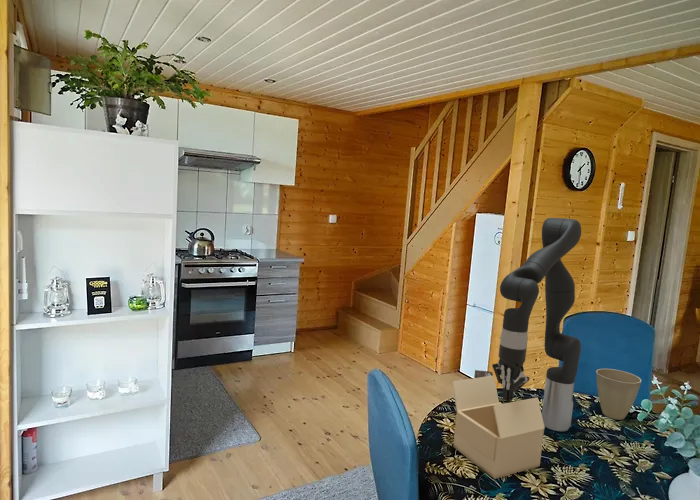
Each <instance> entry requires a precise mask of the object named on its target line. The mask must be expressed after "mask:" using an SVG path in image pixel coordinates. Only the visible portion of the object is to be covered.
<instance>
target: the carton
mask: <svg viewBox="0 0 700 500" xmlns="http://www.w3.org/2000/svg"><path fill="white" fill-rule="evenodd" d="M499 404H502V403H501V402H499V403H496V404H490V405H485V406H479V407H474V408H469V409H463V410H458V411H457V410H456V414H455V415H456V417H455V427H454V436H453V448H454V449H456V450H457V451H458V452H459V453H461V454H462V455H463V456H465V458H467V459H468V460H470V462H472V463H473V464H475V465H476V466H478V467H479V469H481V470H483V472H485V473H486V474H487V475H489V476H490V477H491V478H493V479H494V480H495V479H500V478H503V477H506V476H510V474H511V475H514V474H517V472H518V473H520V472H523V471H528V470H531V469H534V468H538V467H541V466H540V465H541V458H542V457H541V456H542V449H543V441H544V433H545V429H540V430H536V431H532V432H527V433H523V434H519V435H515V436H510V437H506V438H502V439H500V437H499V433H498V428H497V423H496V418H495V413H494V408H493V406H494V405H499ZM513 473H514V474H513Z"/></svg>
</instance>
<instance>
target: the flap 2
mask: <svg viewBox="0 0 700 500" xmlns="http://www.w3.org/2000/svg"><path fill="white" fill-rule="evenodd" d="M493 408H494V413H495V418H496V423H497V428H498V433H499V437H500V439H502V438H506V437H510V436H515V435H519V434H523V433H527V432H532V431H536V430H540V429H544V430H545V429H546V427H545V426H544V423H543V418H542V410H541V407H540V402H539V398H538V397H537V396H536V397H532V398H527V399H523V400H515V401H509V402H505V403H501V404H499V405H494V406H493Z"/></svg>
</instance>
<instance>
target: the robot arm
mask: <svg viewBox="0 0 700 500" xmlns="http://www.w3.org/2000/svg"><path fill="white" fill-rule="evenodd" d="M581 237H582V226H581V222H579V220H577V219H573V218H561V217H560V218H559V217H547V218H546V219H544V220H543V224H542V227H541V243H542V248H539V249H538V250H536V251H534V252H533V253H532V254H530V255H529V256H528V258H527V259H526V260H525V261H524V262H523V264H522V265H521V266H520V267H517V268H516V269H515V270H512V271H511V272H509V273H508V274H507V275H505V277H504V278H503V279H502V281H501V283H500V286H499V292H500V294H501V296H502V297H503V298H504V299H506V300H509V301H510V300H511V301H514V302H520V305H519V307H509V308H506V309H505V310H504V313H503V319H502V328H501V332H500V333H501V334H500V337H499V338H500V339H499V348H498V358H499V360H498V362H497V363H492V365H491V366H492V369H493V373H494V376H495V377H496V380H497V382H498V384H500V385H501V387H502V400H504V401H505V402H506V403H509V402H512V401H513V399H514V391H516V390H517V391H518V390H520V389H521V388H523V387H524V386H525V384H527V383H528V382H529V381H530V377H529V376H527V375H526V374H525V373H524V363H526V357H527V348H528V331H529V321H530V316H531V314H532V312H533V308H534V305H535V303H536V301H537V299H538V297H539V293H540V288H539V285H538V284H539V283H541V282H542V281H543V279H544V278H545V279H544V282H545V283H544V291H545V292H544V294H545V331H544V352H545V354H546V355H547V357H549V358H552V359H555V360H558V361H560V362H563V363H562V366H552V367H548V368H547V370H546V375H545V384H544V393H543V400H542V408H541V409H542V410H541V414H542V418H543V423H544V427H545V428H547V429H549V430H552V431H556V432H567V431H568V430H569V429H570V428H571V426H572V425H571V424H572V416H573V411H574V410H573V409H574V401H573V396H574V388H575V380H576V376H577V373H578V368H579V362H580V357H581V352H582V343H581V341H580V339H579V338H577V337H575V336H572V335H568V334H563V333H561V330H560V329H561V327H560V325H561V322H562V320H563V319H564V317H565V316H566V314H568V313H569V311H570V310H571V308H572V307H573V305H574V304H575V302H576V301H575V299H576V296H575V294H576V290H575V288H576V284H575V281H574V278H573V277H572V275H571V273H570V271H569V270H568V269H567V267H566V266H565V264H564V263H563V261H562V258H563V257H564V256H565V255H567V254H568V253H569V252H570V251H571V250H573V248H575V246H577V244H578V243H579V241H580V239H581Z"/></svg>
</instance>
